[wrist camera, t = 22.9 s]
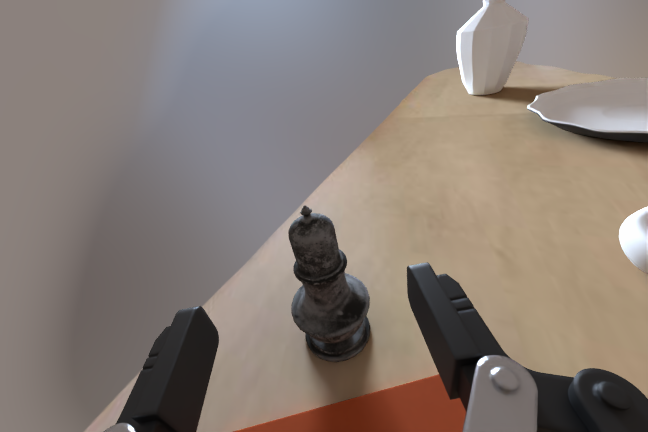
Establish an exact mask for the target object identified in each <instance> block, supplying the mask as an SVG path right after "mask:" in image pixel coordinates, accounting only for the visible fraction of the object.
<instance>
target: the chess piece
mask: <svg viewBox="0 0 648 432" xmlns="http://www.w3.org/2000/svg"><path fill="white" fill-rule="evenodd" d="M311 212H312V209H309V207H306V206H303V208H302V211H301V212H300V213H301V214H302V215H303V216H301V217H299V218H297V219H296V220H295V221H294V222H293V223H292V224H291V226H290V229H289V240H290V243H291V246H292V249H293V252H294V255H295V258H296V262H295V264H294V274H295V276H296V278H297V279H298V280H299V281H301V282H302V283H303V285H302V286H301V287H300V288H299V290H298V291H297V293H296V294H295V296H294V299H293V302H292V316H293V319H294V322H295V323H296V325H297V326H298V327H299V328H300V330H302V331H303V332H305V334H306V341H307V344H308V347H309V348H310V350H311V351H312V352H313V353H314V354H315V355H316V356H318V357H319V358H321V359H324V360H327V361H333V362H339V361H344V360H348V359H350V358H352V357H354V356H356V355H357V354H358V353H359V352H360V351H361V350H362V349H363V348H364V346H365V345H366V343H367V341H368V338H369V335H370V325H369V321H368V318H367V316H366V315H367V312H368V309H369V301H370V297H369V294H368V291H367V288H366V287H365V286H364V284H363V283H362V282H361V281H360V280H359V279H357V278H356V277H354V276H352V275H349V274H346V273H345V272H344V270H345V268H346V266H347V259H346V256H345V254H344V253H343V252H342V251H341V250H339V248H338V243H337V239H336V234H335V229H334V225H333V223H332V221H331V220H330V219H329V218H328V217H326V216H325V215H322V214H316V213H311ZM310 213H311V214H310Z"/></svg>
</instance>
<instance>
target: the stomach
mask: <svg viewBox="0 0 648 432" xmlns="http://www.w3.org/2000/svg"><path fill="white" fill-rule="evenodd" d="M619 239H620V244H621V247H622V249H623V251H624V253H625V254H626V256H627V257H628V258H629V260H630V261H631V262H632V263H633V264H634V265H635V266H636V267H638V268H639V269H640V270H642V271H643V272H645V273H646V274H648V207H646V208H643V209H641V210H639V211H637V212H635V213H633V214H632V215H630V216H629V217H628V218H627V219H626V220H625V221H624V222H623V224H622V225H621V228H620V232H619Z"/></svg>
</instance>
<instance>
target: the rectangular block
mask: <svg viewBox="0 0 648 432" xmlns="http://www.w3.org/2000/svg"><path fill="white" fill-rule="evenodd" d="M465 415H466V410H465V408H464V406H463V404H462V402H461V399H460V398H458V399H452V400H450V398H449V396H448V394H447V391H446V389H445V386H444V384H443V382H442V379H441V377H440V375H439V374H438V375H435V376H431V377H428V378H424V379H421V380H417V381H413V382H410V383H406V384H403V385H399V386H395V387H392V388H388V389H385V390H381V391H377V392H374V393H370V394H367V395H363V396H360V397H356V398H352V399H349V400H345V401H342V402H338V403H334V404H331V405H327V406H324V407H320V408H316V409H313V410H309V411H306V412H302V413H299V414H295V415H291V416H288V417H284V418H281V419H277V420H273V421H270V422H266V423H263V424H259V425H255V426H252V427H248V428H245V429H241V430H238V431H234V432H462V430H463V425H464V420H465Z"/></svg>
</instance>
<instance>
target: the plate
mask: <svg viewBox="0 0 648 432" xmlns="http://www.w3.org/2000/svg"><path fill="white" fill-rule="evenodd" d="M527 109H528V110H530V111H532V112H534V113H536V114H538V115H539V116H540V118H541V119H542V120H543V121H545V122H548V123H551V124H553V125H555V126H557V127H559V128H561V129H564V130H567V131H570V132H574V133H577V134H581V135H587V136H592V137H598V138H604V139H612V140H623V141H633V142H648V78H618V79H610V80H604V81H598V82H591V83H581V84H573V85H568V86H565V87H563V88H560V89H558V90H554V91H550V92H546V93H542V94H540V95H537V96H536V98H535V101H534V102H532V103H531V104H530V105H528V106H527Z"/></svg>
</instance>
